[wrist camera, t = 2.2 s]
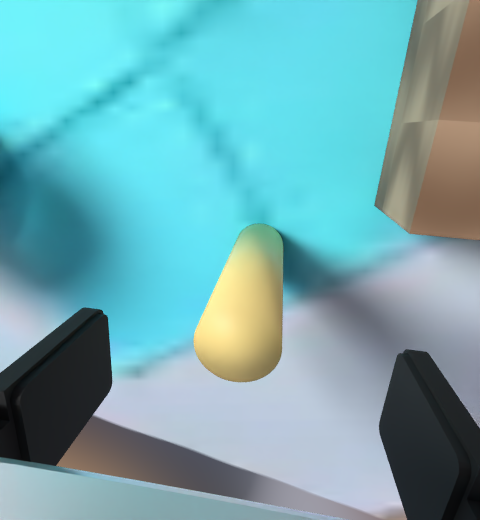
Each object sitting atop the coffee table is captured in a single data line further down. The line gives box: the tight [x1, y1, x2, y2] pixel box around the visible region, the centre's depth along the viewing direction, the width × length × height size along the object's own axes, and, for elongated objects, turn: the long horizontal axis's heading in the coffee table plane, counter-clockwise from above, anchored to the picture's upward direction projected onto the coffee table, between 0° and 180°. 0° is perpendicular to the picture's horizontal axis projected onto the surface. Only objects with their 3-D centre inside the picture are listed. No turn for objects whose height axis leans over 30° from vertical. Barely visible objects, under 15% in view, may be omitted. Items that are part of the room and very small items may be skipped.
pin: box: [194, 224, 283, 382], centre depth 15 cm, size 3×3×10 cm
